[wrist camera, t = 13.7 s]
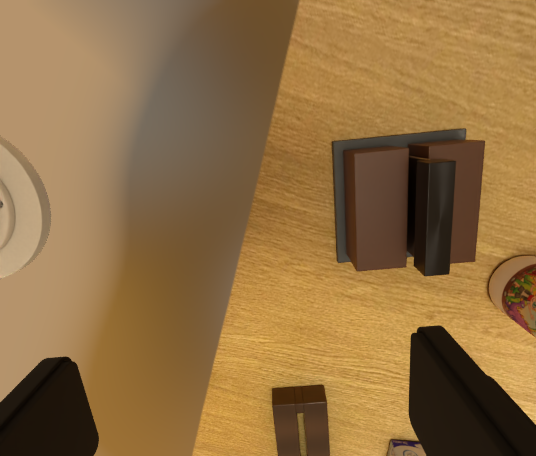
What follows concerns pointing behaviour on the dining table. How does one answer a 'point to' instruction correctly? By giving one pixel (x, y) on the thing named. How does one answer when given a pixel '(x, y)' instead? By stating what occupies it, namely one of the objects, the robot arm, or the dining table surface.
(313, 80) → the dining table surface
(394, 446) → the box
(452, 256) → the brown blocks on tray
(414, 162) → the knife
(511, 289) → the milk bottle
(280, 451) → the knife stand
